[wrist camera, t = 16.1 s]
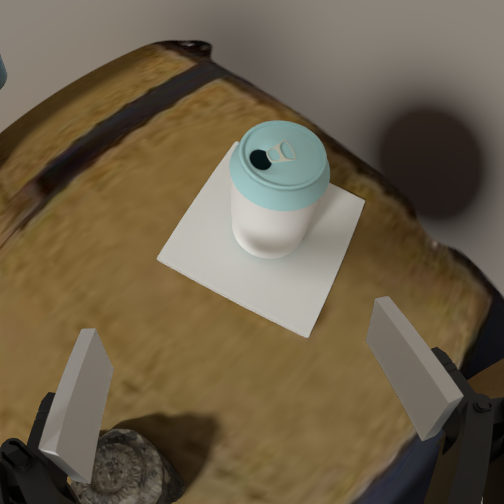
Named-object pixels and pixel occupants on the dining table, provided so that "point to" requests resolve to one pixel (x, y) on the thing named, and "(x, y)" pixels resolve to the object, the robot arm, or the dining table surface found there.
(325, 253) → the white mat
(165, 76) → the dining table surface
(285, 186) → the can
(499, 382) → the plant pot
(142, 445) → the fossil
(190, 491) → the dining table surface
